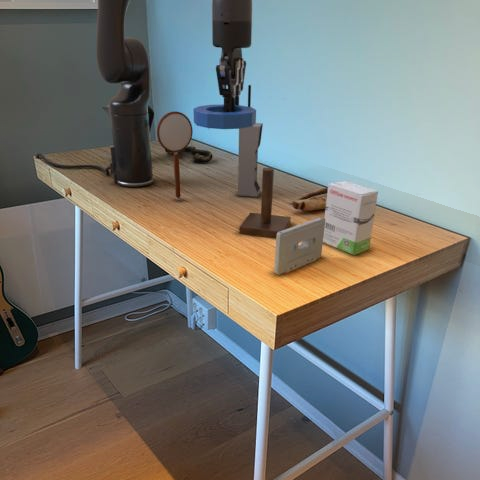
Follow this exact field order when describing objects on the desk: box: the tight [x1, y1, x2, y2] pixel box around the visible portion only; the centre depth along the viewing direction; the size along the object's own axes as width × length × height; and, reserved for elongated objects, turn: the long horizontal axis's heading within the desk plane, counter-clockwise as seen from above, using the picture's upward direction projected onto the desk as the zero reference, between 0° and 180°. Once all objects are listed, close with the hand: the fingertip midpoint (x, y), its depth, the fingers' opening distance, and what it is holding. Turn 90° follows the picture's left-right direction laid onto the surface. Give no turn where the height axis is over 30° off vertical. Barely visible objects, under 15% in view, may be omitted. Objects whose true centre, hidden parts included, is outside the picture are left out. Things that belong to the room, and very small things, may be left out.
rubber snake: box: [164, 145, 213, 164], centre depth 152 cm, size 18×5×10 cm
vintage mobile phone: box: [237, 84, 264, 198], centre depth 117 cm, size 4×5×25 cm
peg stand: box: [238, 167, 292, 239], centre depth 101 cm, size 9×9×12 cm
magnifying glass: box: [156, 110, 194, 202], centre depth 113 cm, size 9×2×20 cm, turn 121°
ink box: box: [323, 180, 379, 256], centre depth 94 cm, size 9×5×12 cm, turn 39°
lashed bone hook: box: [292, 187, 328, 212], centre depth 116 cm, size 9×5×18 cm
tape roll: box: [192, 103, 257, 130], centre depth 98 cm, size 12×12×3 cm
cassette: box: [273, 216, 325, 276], centre depth 87 cm, size 12×2×8 cm, turn 133°
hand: (231, 115), depth 102 cm, fingers closed on tape roll, 2 cm apart
